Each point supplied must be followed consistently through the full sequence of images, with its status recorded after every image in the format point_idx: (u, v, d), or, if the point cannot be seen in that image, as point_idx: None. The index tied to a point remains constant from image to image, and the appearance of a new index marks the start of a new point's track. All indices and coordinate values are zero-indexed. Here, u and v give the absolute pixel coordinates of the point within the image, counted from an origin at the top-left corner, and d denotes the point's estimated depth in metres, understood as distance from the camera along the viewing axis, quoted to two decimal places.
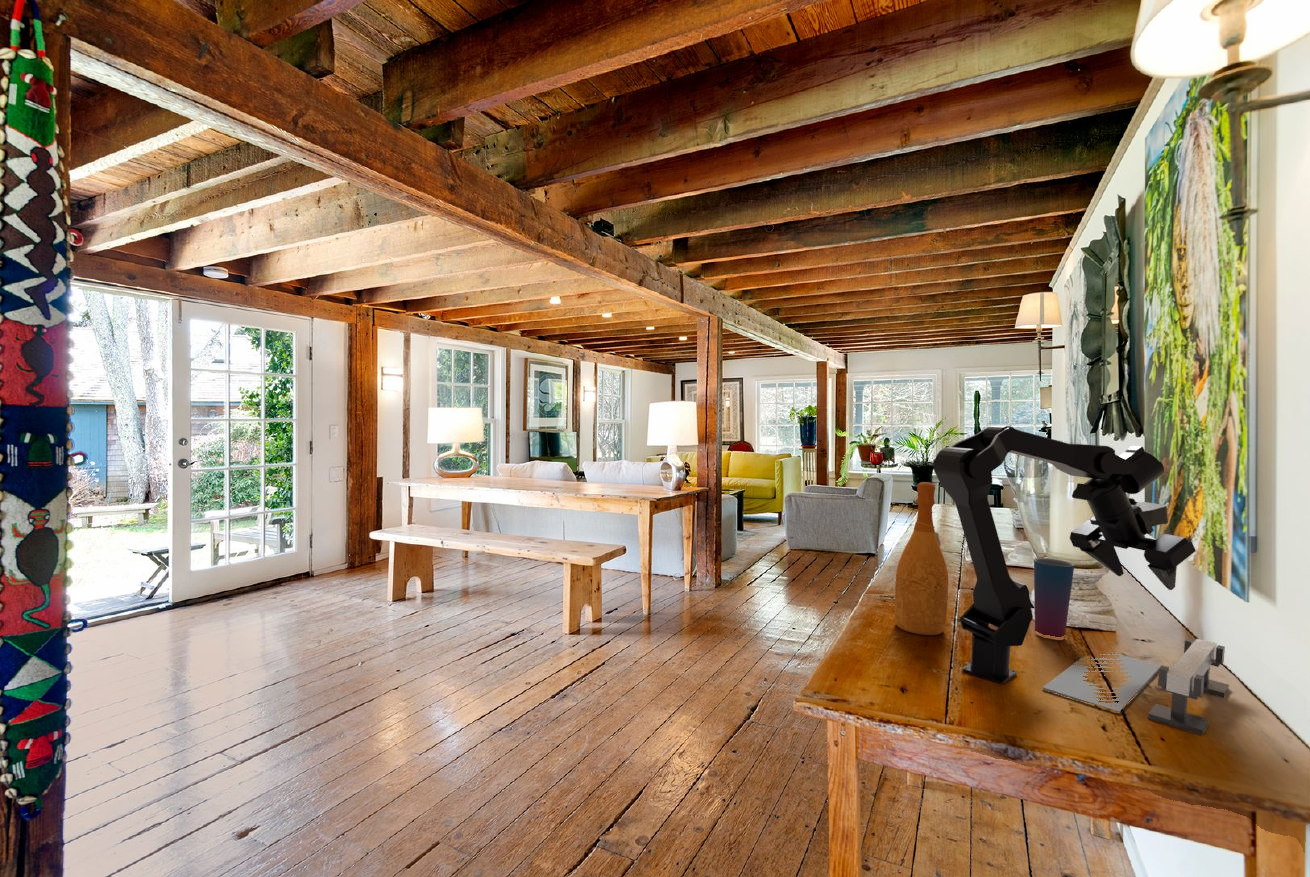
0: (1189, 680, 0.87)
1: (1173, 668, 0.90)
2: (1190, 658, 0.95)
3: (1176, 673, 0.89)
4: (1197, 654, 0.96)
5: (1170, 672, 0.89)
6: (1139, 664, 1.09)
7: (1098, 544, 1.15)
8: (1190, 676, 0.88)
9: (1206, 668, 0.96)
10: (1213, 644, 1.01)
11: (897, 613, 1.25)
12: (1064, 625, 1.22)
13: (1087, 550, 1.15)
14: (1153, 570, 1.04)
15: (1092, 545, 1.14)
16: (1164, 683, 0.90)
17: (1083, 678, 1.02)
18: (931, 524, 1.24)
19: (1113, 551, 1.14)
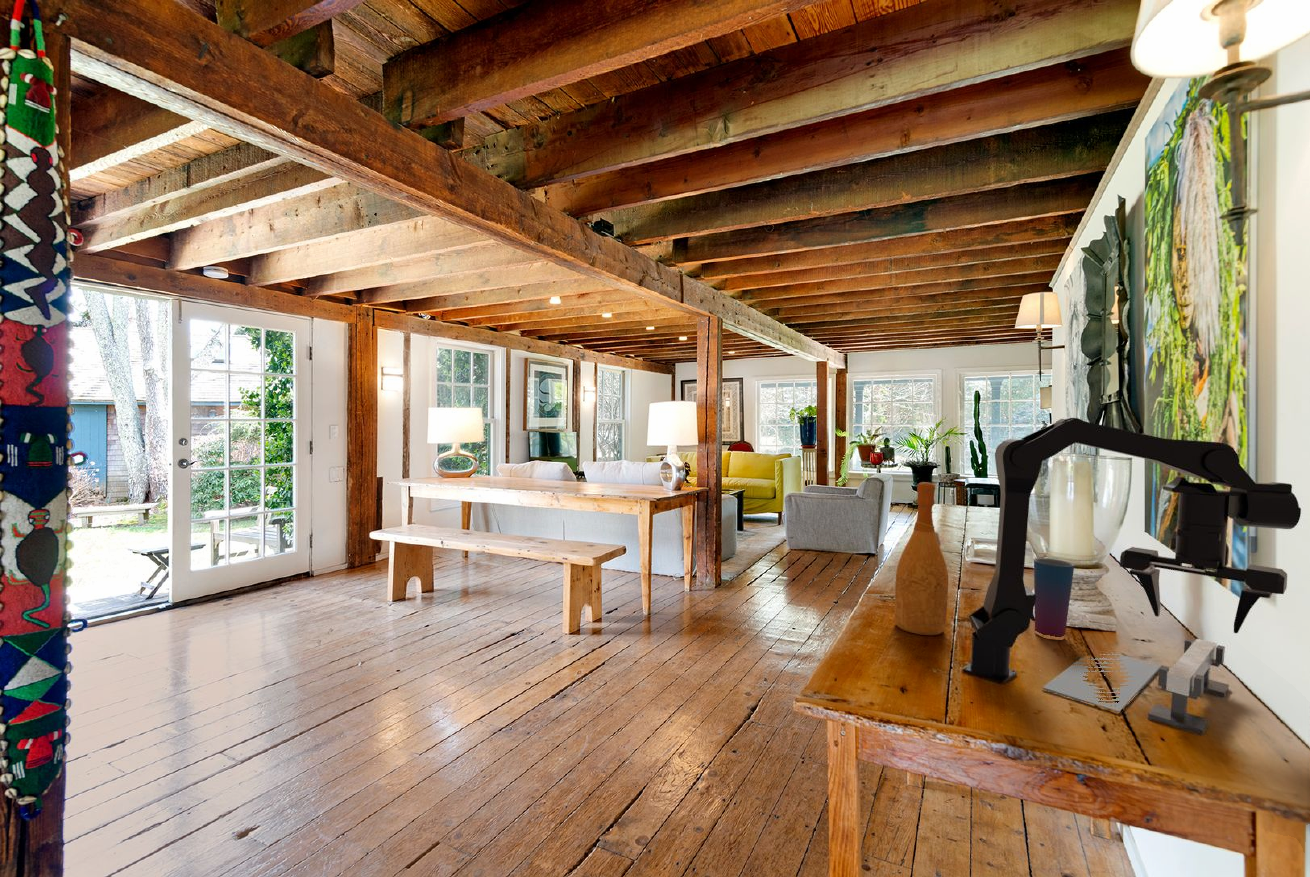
0: (1189, 680, 0.87)
1: (1173, 668, 0.90)
2: (1190, 658, 0.95)
3: (1176, 673, 0.89)
4: (1197, 654, 0.96)
5: (1170, 672, 0.89)
6: (1139, 664, 1.09)
7: (1151, 571, 0.98)
8: (1190, 676, 0.88)
9: (1206, 668, 0.96)
10: (1213, 644, 1.01)
11: (897, 613, 1.25)
12: (1064, 625, 1.22)
13: (1143, 573, 0.98)
14: (1244, 598, 0.89)
15: (1149, 569, 0.98)
16: (1164, 683, 0.90)
17: (1083, 678, 1.02)
18: (931, 524, 1.24)
19: (1158, 586, 0.99)
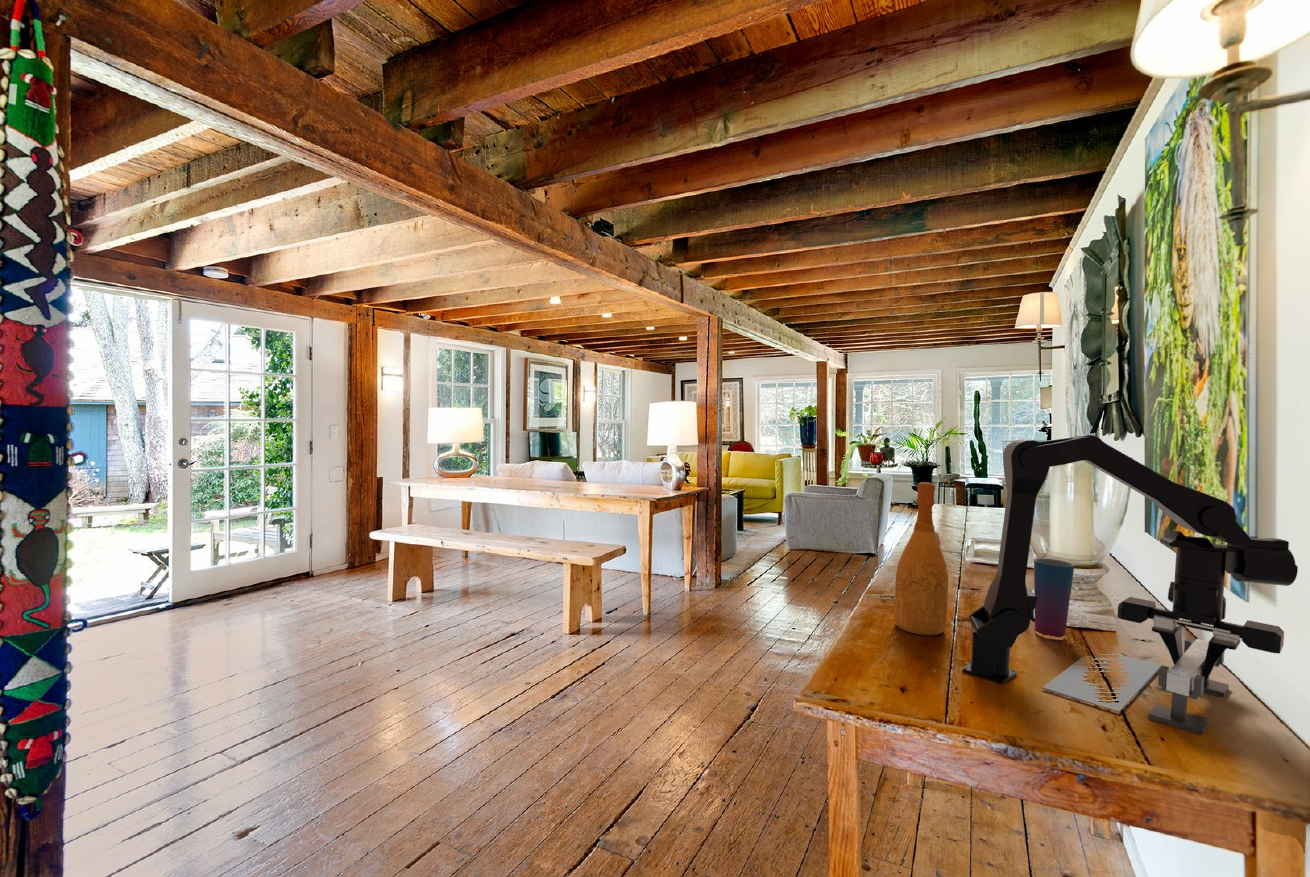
0: (1189, 680, 0.87)
1: (1173, 668, 0.90)
2: (1190, 658, 0.95)
3: (1176, 673, 0.89)
4: (1197, 654, 0.96)
5: (1170, 672, 0.89)
6: (1139, 664, 1.09)
7: (1174, 628, 0.96)
8: (1190, 676, 0.88)
9: None
10: None
11: (897, 613, 1.25)
12: (1064, 625, 1.22)
13: (1165, 631, 0.95)
14: (1211, 648, 0.92)
15: (1172, 627, 0.96)
16: (1164, 683, 0.90)
17: (1083, 678, 1.02)
18: (931, 524, 1.24)
19: (1181, 643, 0.97)
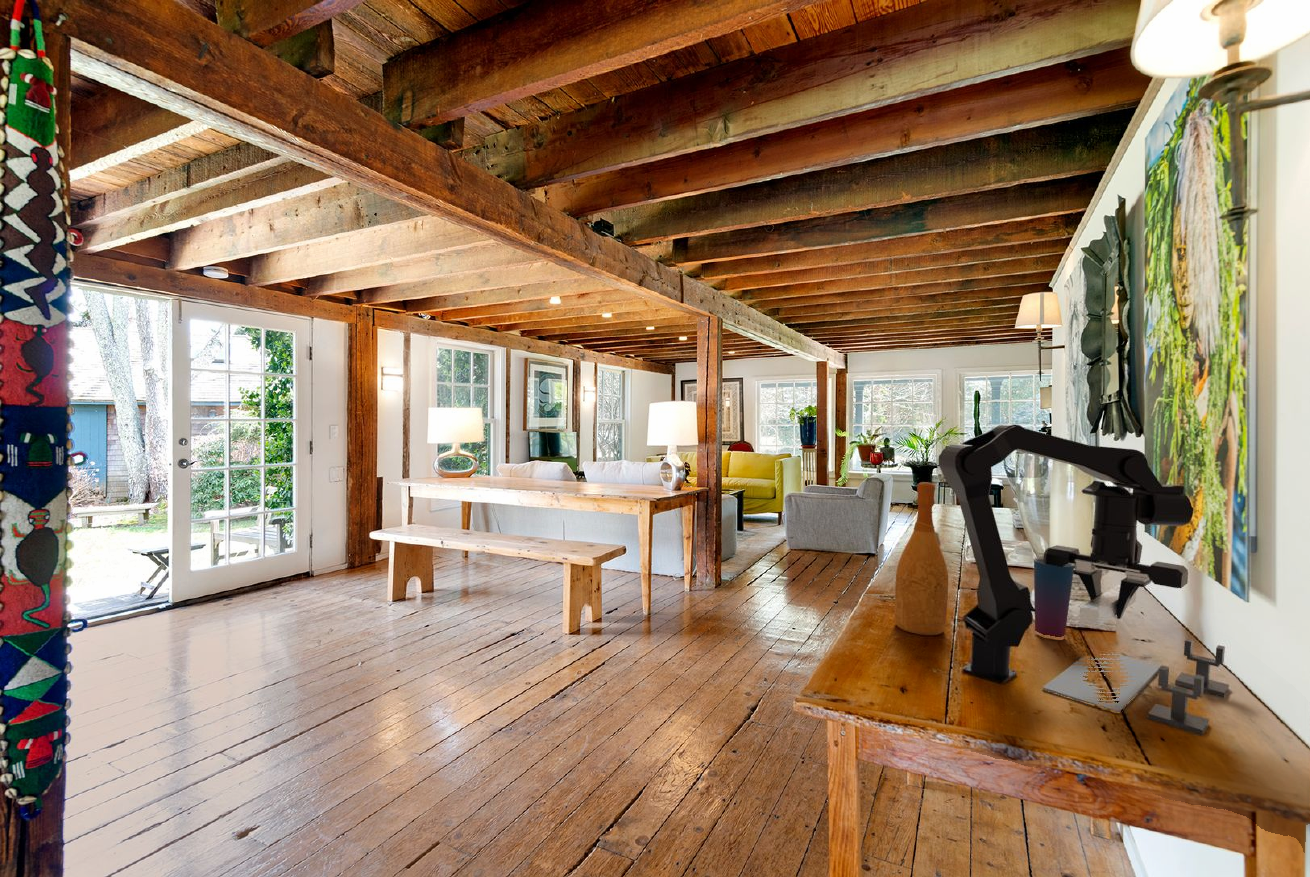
0: (1098, 612, 0.95)
1: (1087, 604, 0.98)
2: (1106, 597, 1.03)
3: (1088, 607, 0.97)
4: (1114, 595, 1.04)
5: (1083, 606, 0.97)
6: (1139, 664, 1.09)
7: (1093, 571, 1.04)
8: (1100, 609, 0.96)
9: None
10: None
11: (897, 613, 1.25)
12: (1064, 625, 1.22)
13: (1084, 573, 1.04)
14: (1123, 587, 1.00)
15: (1091, 569, 1.04)
16: (1164, 683, 0.90)
17: (1083, 678, 1.02)
18: (931, 524, 1.24)
19: (1100, 585, 1.05)
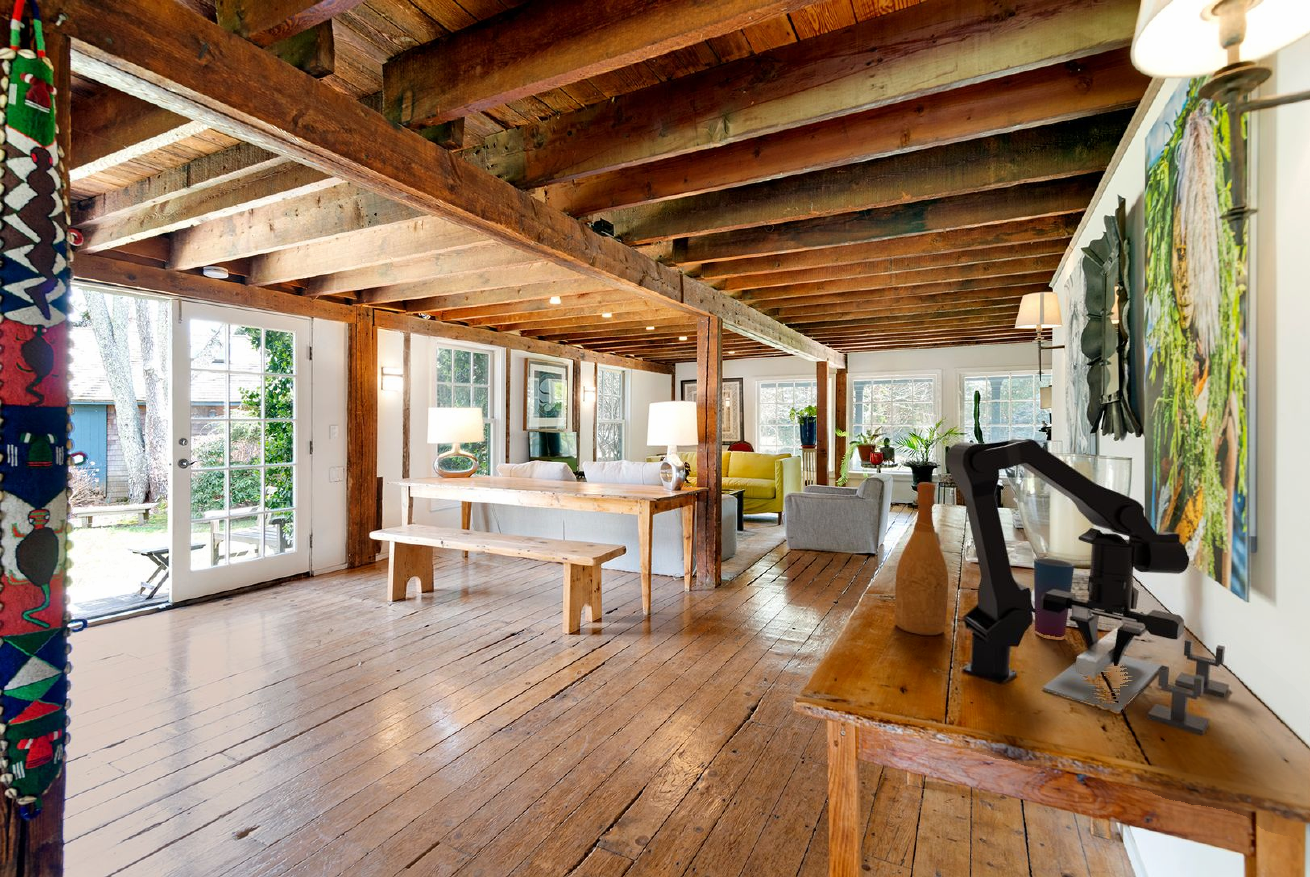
0: (1095, 663, 0.95)
1: (1083, 653, 0.99)
2: (1103, 644, 1.03)
3: (1084, 657, 0.97)
4: (1111, 641, 1.05)
5: (1079, 656, 0.97)
6: (1139, 664, 1.09)
7: (1090, 618, 1.05)
8: (1096, 660, 0.96)
9: None
10: None
11: (897, 613, 1.25)
12: (1064, 625, 1.22)
13: (1081, 620, 1.04)
14: (1119, 635, 1.00)
15: (1087, 616, 1.04)
16: (1164, 683, 0.90)
17: (1083, 678, 1.02)
18: (931, 524, 1.24)
19: (1096, 631, 1.05)
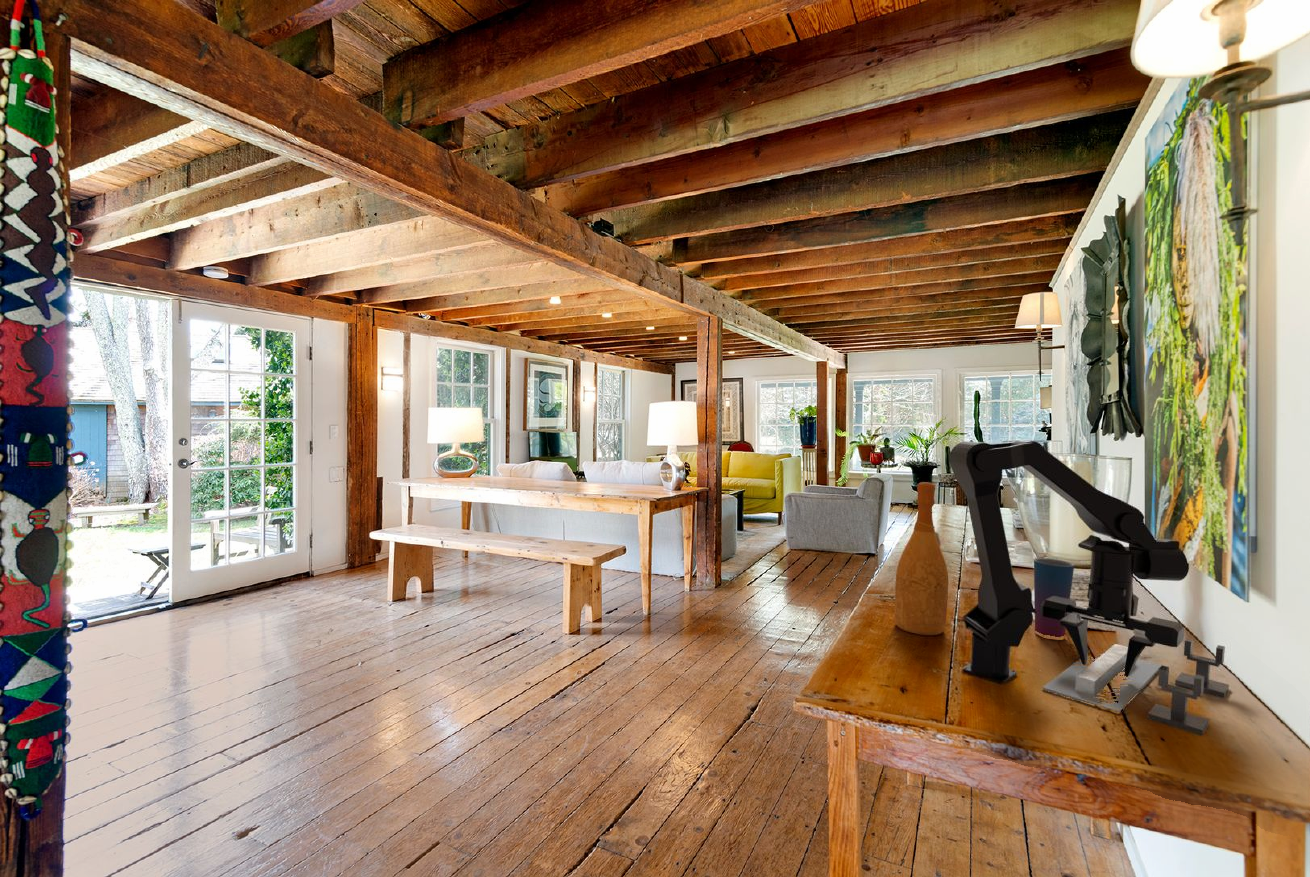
0: (1094, 682, 0.95)
1: (1083, 671, 0.99)
2: (1102, 662, 1.03)
3: (1084, 676, 0.97)
4: (1110, 658, 1.05)
5: (1079, 675, 0.97)
6: (1139, 664, 1.09)
7: (1079, 622, 1.06)
8: (1096, 679, 0.96)
9: (1118, 671, 1.04)
10: None
11: (897, 613, 1.25)
12: None
13: (1070, 625, 1.05)
14: (1131, 646, 0.99)
15: (1077, 620, 1.05)
16: (1164, 683, 0.90)
17: None
18: (931, 524, 1.24)
19: (1086, 636, 1.07)
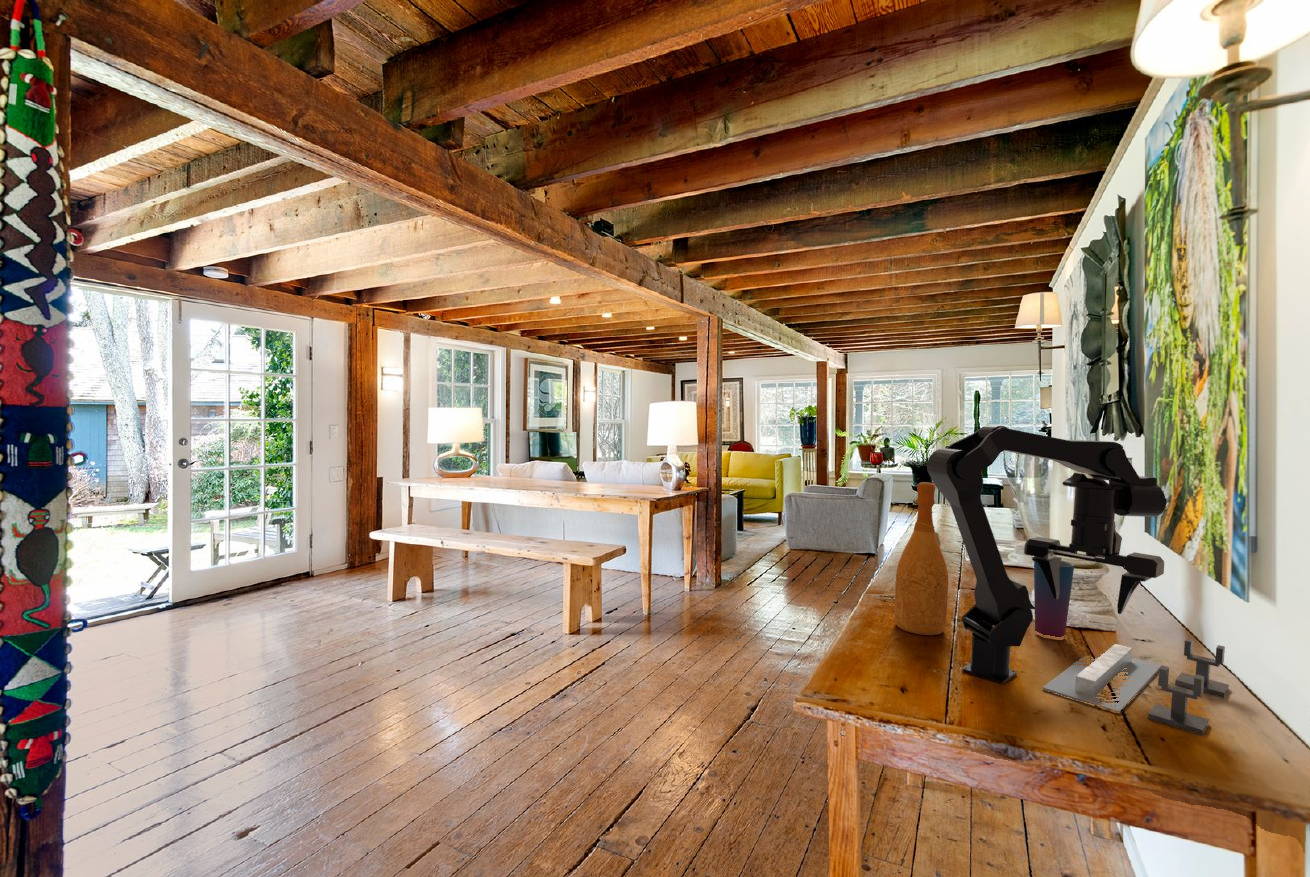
0: (1094, 682, 0.95)
1: (1083, 671, 0.99)
2: (1102, 662, 1.03)
3: (1084, 676, 0.97)
4: (1110, 658, 1.05)
5: (1079, 675, 0.97)
6: (1139, 664, 1.09)
7: (1051, 558, 1.08)
8: (1096, 679, 0.96)
9: (1118, 671, 1.04)
10: (1128, 649, 1.10)
11: (897, 613, 1.25)
12: (1064, 625, 1.22)
13: (1042, 559, 1.08)
14: (1124, 581, 0.99)
15: (1049, 556, 1.08)
16: (1164, 683, 0.90)
17: None
18: (931, 524, 1.24)
19: (1058, 572, 1.09)
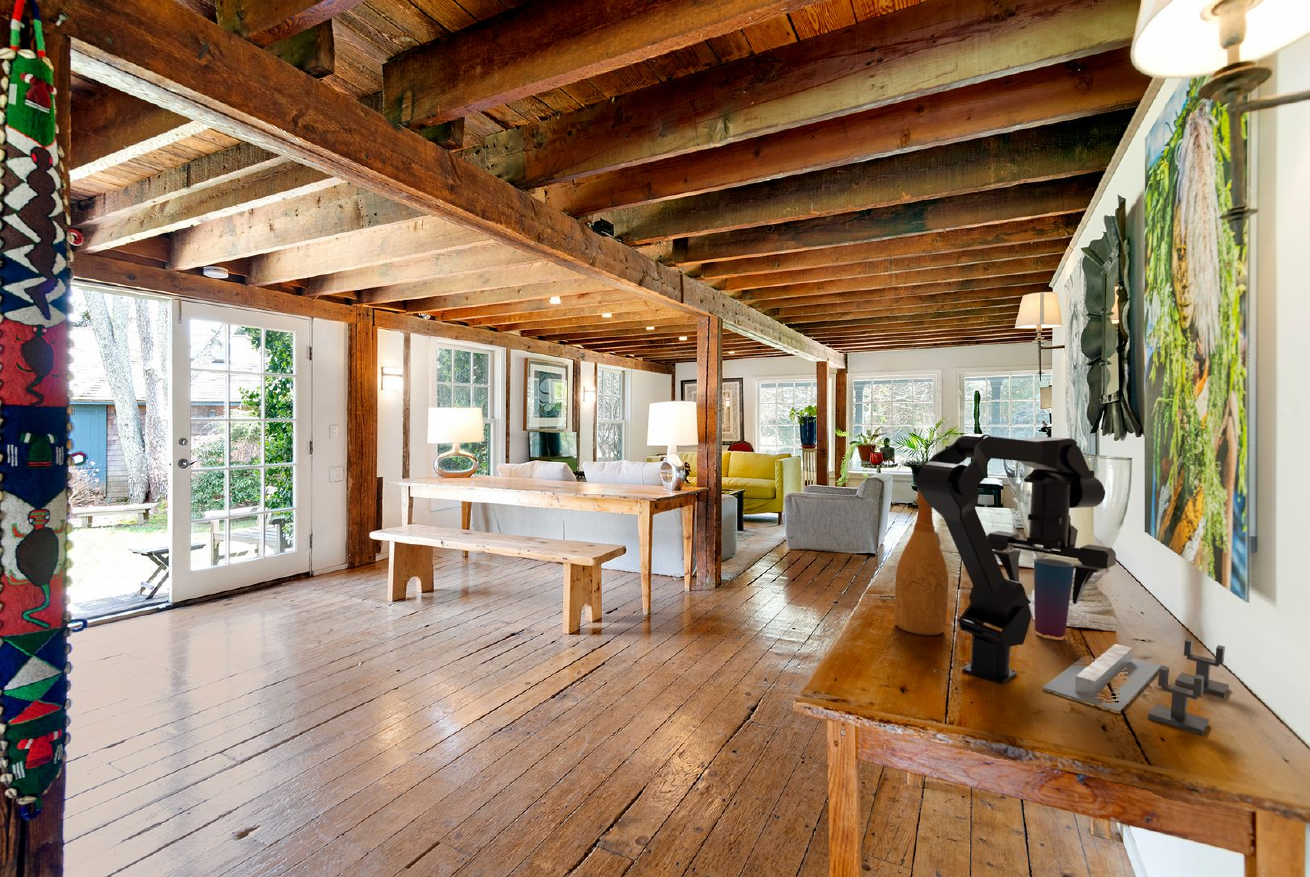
0: (1094, 682, 0.95)
1: (1083, 671, 0.99)
2: (1102, 662, 1.03)
3: (1084, 676, 0.97)
4: (1110, 658, 1.05)
5: (1079, 675, 0.97)
6: (1139, 664, 1.09)
7: (1011, 551, 1.12)
8: (1096, 679, 0.96)
9: (1118, 671, 1.04)
10: (1128, 649, 1.10)
11: (897, 613, 1.25)
12: (1064, 625, 1.22)
13: (1002, 553, 1.11)
14: (1078, 573, 1.03)
15: (1008, 549, 1.11)
16: (1164, 683, 0.90)
17: None
18: (931, 524, 1.24)
19: (1017, 564, 1.13)
